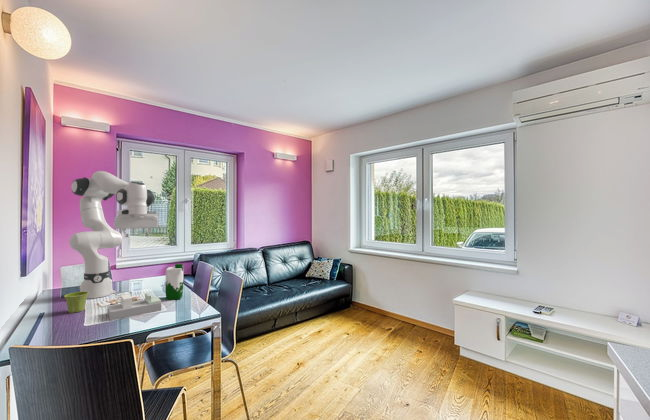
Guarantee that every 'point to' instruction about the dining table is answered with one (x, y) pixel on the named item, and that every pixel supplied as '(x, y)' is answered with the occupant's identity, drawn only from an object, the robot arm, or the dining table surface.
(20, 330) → the dining table surface
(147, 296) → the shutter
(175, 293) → the milk carton
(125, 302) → the plug
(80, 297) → the plant pot
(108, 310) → the socket
